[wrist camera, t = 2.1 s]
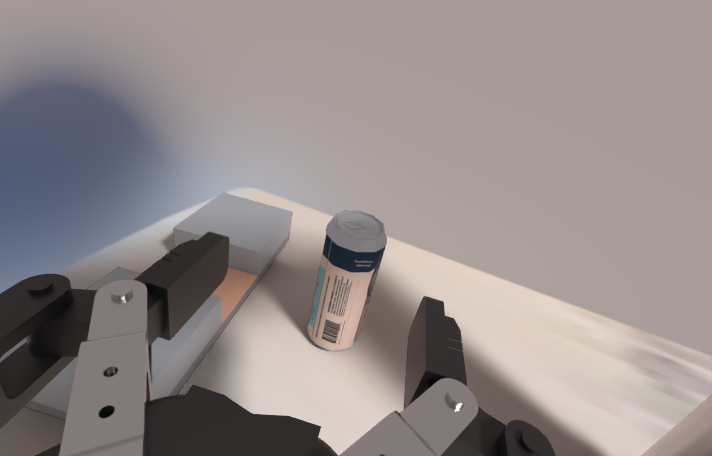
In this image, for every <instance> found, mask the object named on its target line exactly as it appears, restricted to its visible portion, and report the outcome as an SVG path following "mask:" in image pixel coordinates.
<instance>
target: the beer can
mask: <svg viewBox="0 0 712 456" xmlns="http://www.w3.org/2000/svg"><path fill="white" fill-rule="evenodd" d="M386 243H387V238H386V235H385V232H384V226H383V223H382V222H381V221H380V220H378V219H377V218H376V217H375V216H373V215H370V214H367V213H364V212H361V211H349V210H345V211H342V212H340V213H338V214H336V215H335V217H334V218H333V219H332V220H331V221H330V222H329V223H328V225H327V228H326V239H325V244H324V249H323V254H322V259H321V264H320V269H319V274H318V280H317V285H316V290H315V295H314V300H313V305H312V310H311V315H310V320H309V322H308V326H307V331H308V335H309V337H310V338H311V340H312V341H313V342H314V343H315V344H316V345H318V346H319V347H322V348H324V349H326V350H330V351H342V350H345V349H348V348H350V347H351V346H353V345H354V344H355V343H356V341H357V339H358V336H359V333H360V329H361V326H362V323H363V319H364V316H365V313H366V309H367V306H368V303H369V299H370V296H371V293H372V290H373V286H374V283H375V280H376V276H377V273H378V270H379V266H380V263H381V260H382V256H383V253H384V250H385V246H386Z"/></svg>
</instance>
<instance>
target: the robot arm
mask: <svg viewBox="0 0 712 456" xmlns="http://www.w3.org/2000/svg"><path fill="white" fill-rule="evenodd" d="M228 261H229V237H227V236H224V235H221V234H217V233H214V232H207V233H206V234H205V235H203V236H202V237H201V238H200V239H199V240H193V239H192V240H190V241H187V242H184V243H182V244H179V245H178V246H177V247H175V248H174V249H173V250H171V251H170V253H168V254H166V255H165V256H164V257H162V259H160V260H159V261H157V262H156V263H155V264H153V265H152V266H151V267H149V268H148V269H147V270H146V271H144V272H143V273H142V274H140V275H139V276H138V277H137V278H135V279H134V280H119V281H114V282H111V283H109V284H107V285H105V286H103V287H102V288H100V289H99V290H81V289H71V284H70V281H69V279H68V278H66V277H65V276H62V275H58V274H43V275H37V276H33V277H30V278H27V279H25V280H23V281H21V282H19V283H17V284H16V285H14V286H12V287H11V288H9V289H7V290H6V291H4V292H2V293H1V294H0V358H1V357H2V356H3V355H4V354H5V353H6V352H8V351H9V350H10V349H12V348H13V347H14V346H16V345H17V344H18V343H19V342H21V341H22V340H23V339H26V342H25V343H24V344H23V345H21V346H20V347H19V348H18V349H16V350H15V351H14V352H12V353H11V354H10V355H9V356H7V357H6V358H5V359H3V360H2V361H1V362H0V429H1V428H2V427H3V426H4V425H5V424H6V423H7V422H8V421H9V420H10V419H11V418H12V417H14V416H15V415H16V414H17V413H18V412H19V411H20V410H21V409H22V408H23V407H24V406H25V405H26V404H27V403H28V402H29V401H30V400H31V399H33V398H34V397H35V396H36V395H37V394H38V393H39V392H40V391H41V390H42V389H43V388H44V387H45V386H46V385H47V384H48V383H49V382H50V381H52V380H53V379H54V378H55V377H56V376H57V375H58V374H59V373H60V372H61V371H62V370H63V369H64V368H65V367H66V366H67V365H68V364H69V363H70V362H72V361H73V360H74V359H75V358H76V357H78V359H77V364H76V369H75V375H74V380H73V385H72V390H71V395H70V401H69V406H68V411H67V416H66V422H65V427H64V432H63V437H62V443H60V444H58V445H56V446H54V447H52V448H50V449H48V450H46V451H44V452H42V453H40V454H37V455H35V456H338V455H337V454H336V453H335V451H334V450H333V449H332V448H331V447H330V446H329V445H328V444H326V443H325V442H324V441H323V440H321V439H320V438H318V435H319V432H320V428H321V426H318V425H315V424H312V423H309V422H306V421H302V420H299V419H296V418H293V417H290V416H278V415H261V414H253V413H250V412H248V411H247V410H246V409H244V408H243V407H241V406H240V405H238V404H237V403H235V402H234V401H232V400H231V399H229V398H228V397H226V396H225V395H223V394H219V393H216V392H213V391H210V390H207V389H204V388H201V387H198V386H195V385H192V387H191V388H190V390H189V391H188V393H187V394H186V395H172V396H166V397H161V398H158V399H154V400H153V374H152V343H153V342H154V341H155V340H156V339H157V338H158V337H159V338H163V339H166V340H169V341H170V340H171V339H172V338H173V337H174V336H175V335H176V334H177V333H178V331H179V330H180V329H181V328H182V327H183V326H184V325H185V324H186V322H187V321H188V320H189V319H190V318H191V317H192V316H193V315H194V314H195V312H196V311H197V310H198V309H199V308H200V307H201V306H202V305H203V303H204V302H205V301H206V300H207V299H208V298H209V297H210V296H211V294H212V293H213V292H214V291H215V290H216V289H217V288H218V287H219V285H220V284H221V283H222V282H223V280H224V279H225V277H226V274H227V271H228ZM461 341H462V340H461V332H460V329H459V327H458V325H457V323H456V322H455V320H454V318H450V317H447V316H445V312H444V302H443V301H440V300H436V299H433V298H430V297H426V296H424V297H423V299H422V301H421V303H420V306H419V308H418V311H417V313H416V315H415V318H414V320H413V323H412V325H411V328H410V332H409V337H408V349H407V365H406V381H405V397H404V410H403V411H402V412H400V413H398V412H397V411H394V412H392V413H390V414H389V415H388V416H387V417H385V418H384V419H383V420H382V421H380V422H379V423H378V424H377V425H376V426H374V427H373V428H372V429H371V430H370V431H368V432H367V433H366V434H365V435H364V436H362V437H361V438H360V439H359V440H358V441H356V442H355V443H354V444H353V445H351V446H350V447H349V448H348V449H347V450H345V451H344V452H343V453H342V454H341V455H339V456H555V453H554V450H553V448H552V446H551V444H550V442H549V441H548V439H547V438H546V437H545V436H544V435H543V434H542V433H541V432H540V431H539V430H538V429H537V428H535V427H534V426H532V425H531V424H529V423H527V422H524V421H520V420H514V421H511V422H509V423H508V424H507V426H506V425H504V424H503V423H501V422H499V421H498V420H496V419H495V418H493V417H491V416H490V415H488V414H487V413H485V412H484V411H483V410H482V409H480V408H479V407H478V403H477V400H476V397H475V396H474V394H473V393H472V391H471V390H470V389H469V388H468V387H467V381H466V373H465V365H464V357H463V352H462V350H463V348H462V343H461ZM641 456H712V395H711V396H710V397H708V398H707V399H706V400H705V401H704V402H703V403H702V404H700V405H699V406H698V407H697V408H696V409H695V410H693V411H692V412H691V413H690V414H689V415H688V416H686V417H685V418H684V419H683V420H682V421H681V422H680V423H678V424H677V425H676V426H675V427H674V428H673V429H671V430H670V431H669V432H668V433H667V434H666V435H665V436H663V437H662V438H661V439H660V440H659V441H658V442H656V443H655V444H654V445H653V446H652V447H651V448H650V449H648V450H647V451H646V452H645V453H644V454H643V455H641Z"/></svg>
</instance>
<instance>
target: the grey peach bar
mask: <svg viewBox="0 0 712 456" xmlns="http://www.w3.org/2000/svg"><path fill="white" fill-rule="evenodd" d="M292 213H293V212H291V211H288V210H284V209H280V208H277V207H273V206H270V205H266V204H262V203H259V202H255V201H252V200H248V199H245V198H241V197H237V196H234V195H230V194H227V193H222V194H220V195H219V196H217V197H216V198H215V199H213V200H212V201H210V202H209V203H208V204H206V205H205V206H203V207H202V208H200V209H199V210H198V211H196V212H195V213H193V214H192V215H191V216H189V217H188V218H186V219H185V220H184V221H182V222H181V223H179V224H178V225H177V226H175V227H174V228H173V230H174V246H175V247H177V246H178V245H179V244H182V243H184V242H187V241H190V240H192V239H193V240H199V239H200V238H201V237H202V236H203V235H205V234H206V233H207V232H214V233H217V234H221V235H224V236H227V237H229V261H228V271H227V274H226V277H225V279H224V280H223V282H222V283H221V284H220V285H219V287H218V288H217V289H216V290H215V291H214V292H213V293H212V294H211V296H210V297H209V298H208V299H207V300H206V301H205V302H204V303H203V305H202V306H201V307H200V308H199V309H198V310H197V311H196V312H195V314H194V315H193V316H192V317H191V318H190V319H189V320H188V321H187V322H186V324H185V325H184V326H183V327H182V328H181V329H180V330H179V331H178V333H177V334H176V335H175V336H174V337H173V338H172V339H171V340H170V341H169V340H166V339H163V338H159V337H158V338H157V339H156V340H155V341H154V342H153V343H152V374H153V400H154V399H158V398H161V397H166V396H172V395H177V394H178V392H179V391H180V390H181V388H182V387H183V385H184V384H185V383H186V381H187V380H188V379H189V377H190V376H191V374H192V373H193V372H194V370H195V369H196V367H197V366H198V365H199V363H200V362H201V361H202V359H203V358H204V356H205V355H206V354H207V352H208V351H209V349H210V348H211V347H212V345H213V344H214V343H215V341H216V340H217V338H218V337H219V336H220V334H221V333H222V331H223V330H224V329H225V327H226V326H227V325H228V323H229V322H230V320H231V319H232V318H233V316H234V315H235V313H236V312H237V311H238V309H239V308H240V307H241V305H242V304H243V302H244V301H245V300H246V298H247V297H248V295H249V294H250V293H251V291H252V290H253V288H254V287H255V286H256V284H257V283H258V282H259V280H260V279H261V277H262V276H263V275H264V273H265V272H266V270H267V269H268V268H269V266H270V265H271V264H272V262H273V261H274V259H275V258H276V257H277V255H278V254H279V252H280V251H281V250H282V248H283V247H284V246H285V244H286V243H287V241H288V240H289V235H290V228H291V220H292ZM139 275H140V273H137V272H133V271H130V270H126V269H123V268H120V267H117V268H116V269H115V270H113V271H112V272H110V273H109V274H107V275H106V276H105V277H103V278H102V279H100V280H99V281H98V282H96V283H95V284H93V285H92V286H91V287H89V288H88V289H86V290H99V289H100V288H102V287H103V286H105V285H107V284H109V283H111V282H114V281H119V280H134V279H135V278H137V277H138V276H139ZM25 342H26V339H23V340H22V341H21V342H19V343H18V344H17V345H16V346H14V347H13V348H12V349H10V350H9V351H8V352H6V353H5V354H4V355H3V356H2V357H1V358H0V362H1V361H2V360H3V359H5V358H6V357H7V356H9V355H10V354H11V353H12V352H14V351H15V350H16V349H18V348H19V347H20V346H21V345H23V344H24V343H25ZM77 359H78V357H76V358H75V359H74V360H73V361H72V362H70V363H69V364H68V365H67V366H66V367H65V368H64V369H63V370H62V371H61V372H60V373H59V374H58V375H57V376H56V377H55V378H54V379H53V380H52V381H50V382H49V383H48V384H47V385H46V386H45V387H44V388H43V389H42V390H41V391H40V392H39V393H38V394H37V395H36V396H35V397H34V398H33V399H31V400H30V401H29V402H28V403H27V404H26V405H25V406H24V407H27V408H30V409H33V410H36V411H39V412H42V413H45V414H48V415H51V416H54V417H57V418H60V419H63V420H66V416H67V411H68V406H69V401H70V395H71V390H72V385H73V380H74V375H75V369H76V364H77Z"/></svg>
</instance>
